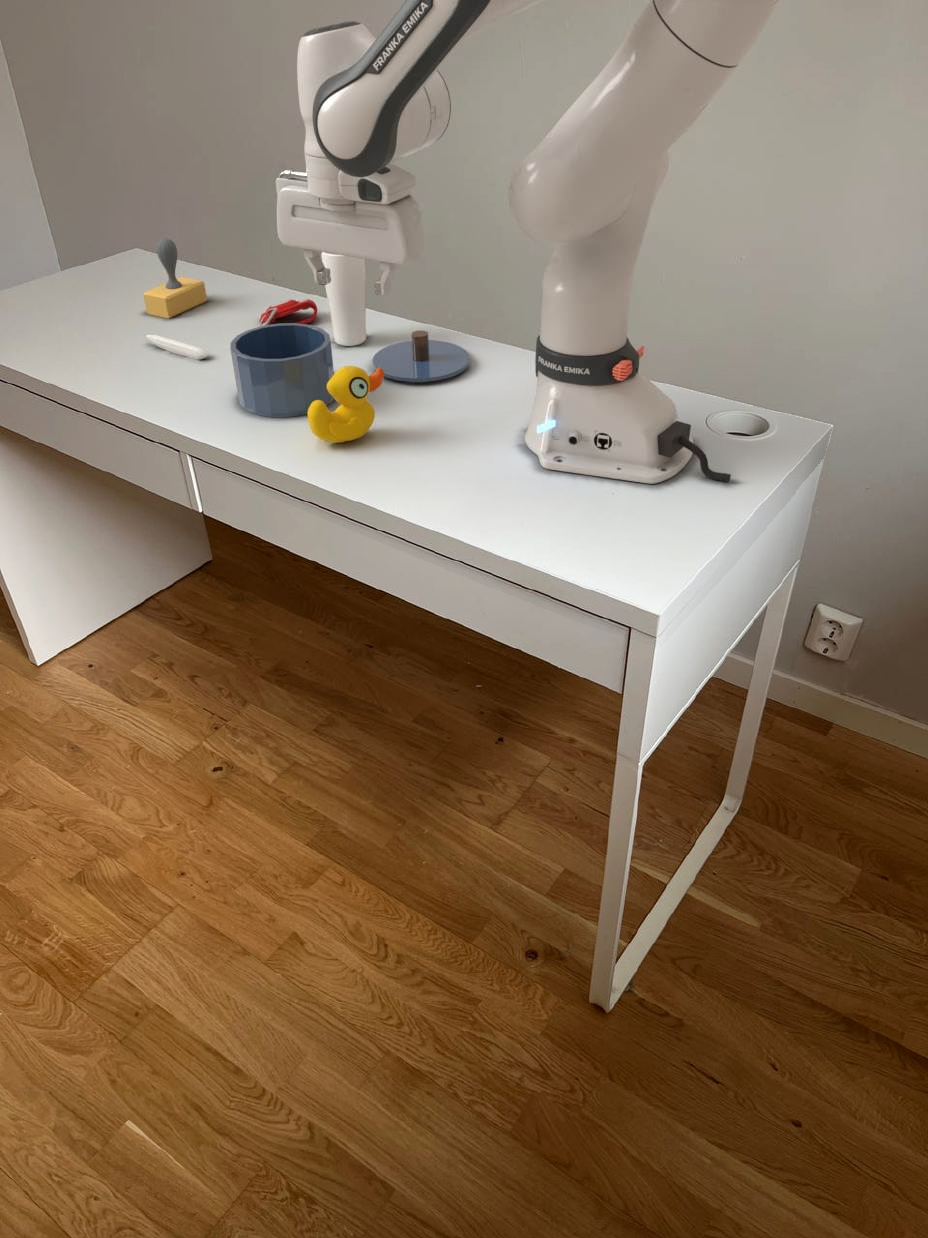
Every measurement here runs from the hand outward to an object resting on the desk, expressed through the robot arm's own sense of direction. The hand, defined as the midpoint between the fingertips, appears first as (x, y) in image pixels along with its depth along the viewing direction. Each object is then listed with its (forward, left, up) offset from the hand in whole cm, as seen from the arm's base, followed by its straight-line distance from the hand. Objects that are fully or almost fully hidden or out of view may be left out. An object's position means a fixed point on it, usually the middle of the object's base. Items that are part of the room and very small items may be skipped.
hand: (352, 288), depth 132 cm
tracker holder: (+34, -25, -19) cm, 47 cm away
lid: (+3, -21, -18) cm, 28 cm away
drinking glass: (+19, -24, -19) cm, 36 cm away
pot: (+15, -2, -19) cm, 24 cm away
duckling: (-1, +5, -19) cm, 20 cm away
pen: (+42, -8, -19) cm, 47 cm away
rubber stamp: (+56, -23, -19) cm, 64 cm away
